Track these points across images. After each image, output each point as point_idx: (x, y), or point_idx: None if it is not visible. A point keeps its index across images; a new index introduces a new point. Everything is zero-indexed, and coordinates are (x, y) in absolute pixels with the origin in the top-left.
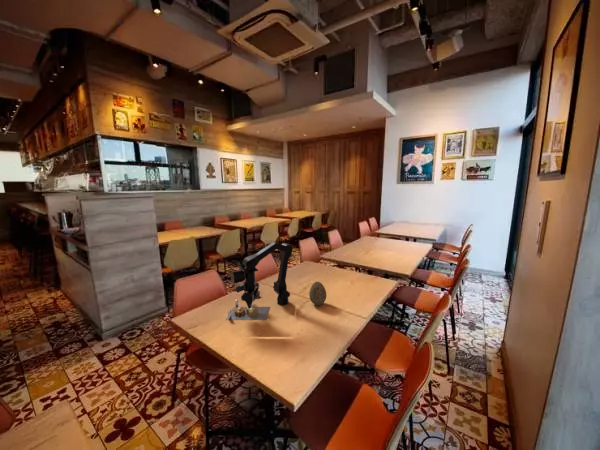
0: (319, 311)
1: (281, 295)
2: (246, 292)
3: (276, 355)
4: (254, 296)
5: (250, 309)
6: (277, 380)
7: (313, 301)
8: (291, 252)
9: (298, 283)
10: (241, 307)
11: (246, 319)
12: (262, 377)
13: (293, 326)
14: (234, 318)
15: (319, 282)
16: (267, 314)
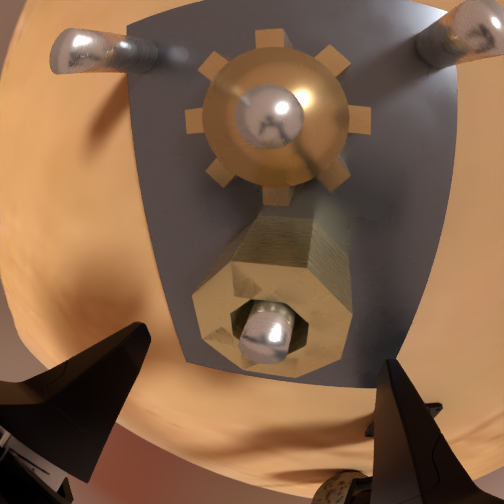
0: (297, 469)
1: (361, 492)
2: None
3: (55, 344)
4: (379, 450)
5: (197, 314)
6: (24, 331)
7: (324, 489)
8: None
9: None
10: (334, 135)
11: (157, 234)
12: (12, 307)
13: (186, 418)
14: (154, 99)
15: None
16: (259, 375)
